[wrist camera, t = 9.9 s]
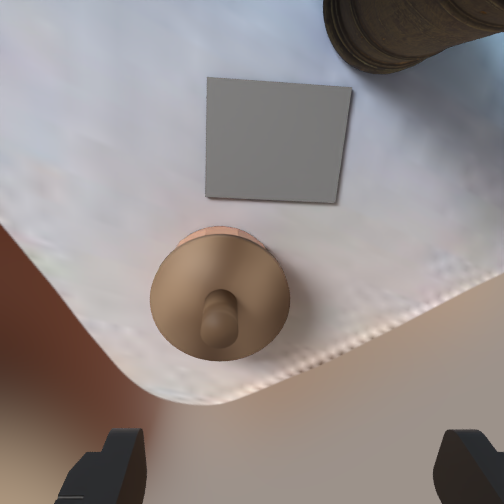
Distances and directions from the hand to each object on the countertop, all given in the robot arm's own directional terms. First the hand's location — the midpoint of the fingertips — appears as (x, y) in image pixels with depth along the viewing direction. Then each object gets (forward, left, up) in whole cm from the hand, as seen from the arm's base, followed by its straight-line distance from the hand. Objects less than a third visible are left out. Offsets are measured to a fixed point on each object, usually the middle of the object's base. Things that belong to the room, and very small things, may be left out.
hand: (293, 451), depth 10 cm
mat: (-2, -6, -23) cm, 24 cm away
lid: (+2, +6, -19) cm, 20 cm away
